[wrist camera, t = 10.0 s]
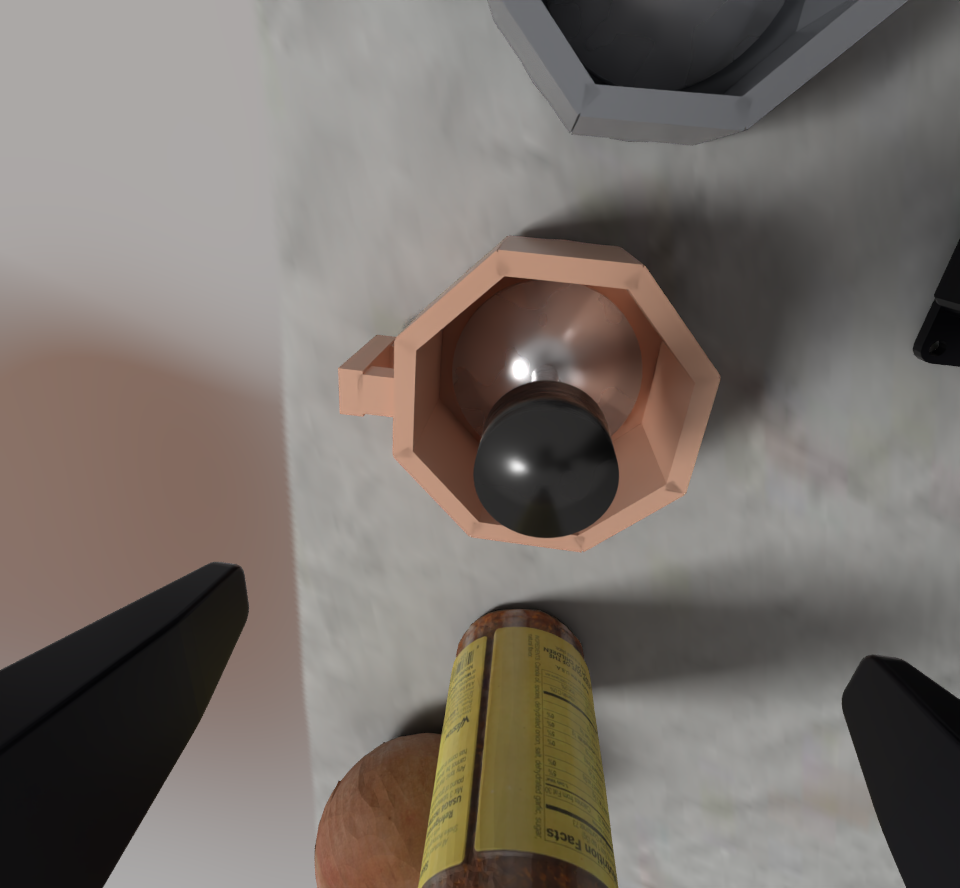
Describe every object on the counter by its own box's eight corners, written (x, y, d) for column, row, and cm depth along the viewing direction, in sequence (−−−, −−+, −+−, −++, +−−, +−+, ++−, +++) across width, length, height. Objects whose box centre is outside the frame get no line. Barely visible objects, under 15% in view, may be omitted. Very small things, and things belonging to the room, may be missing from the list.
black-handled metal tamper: (660, 288, 17) (735, 355, 10) (619, 465, 20) (657, 608, 13) (460, 267, 17) (406, 317, 10) (449, 443, 20) (400, 571, 13)
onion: (494, 686, 31) (578, 850, 22) (457, 818, 33) (520, 1020, 24) (329, 687, 28) (346, 883, 18) (297, 834, 29) (298, 1080, 20)
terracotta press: (697, 252, 17) (751, 275, 13) (639, 483, 21) (664, 563, 16) (385, 220, 18) (330, 232, 13) (383, 449, 21) (340, 519, 17)
